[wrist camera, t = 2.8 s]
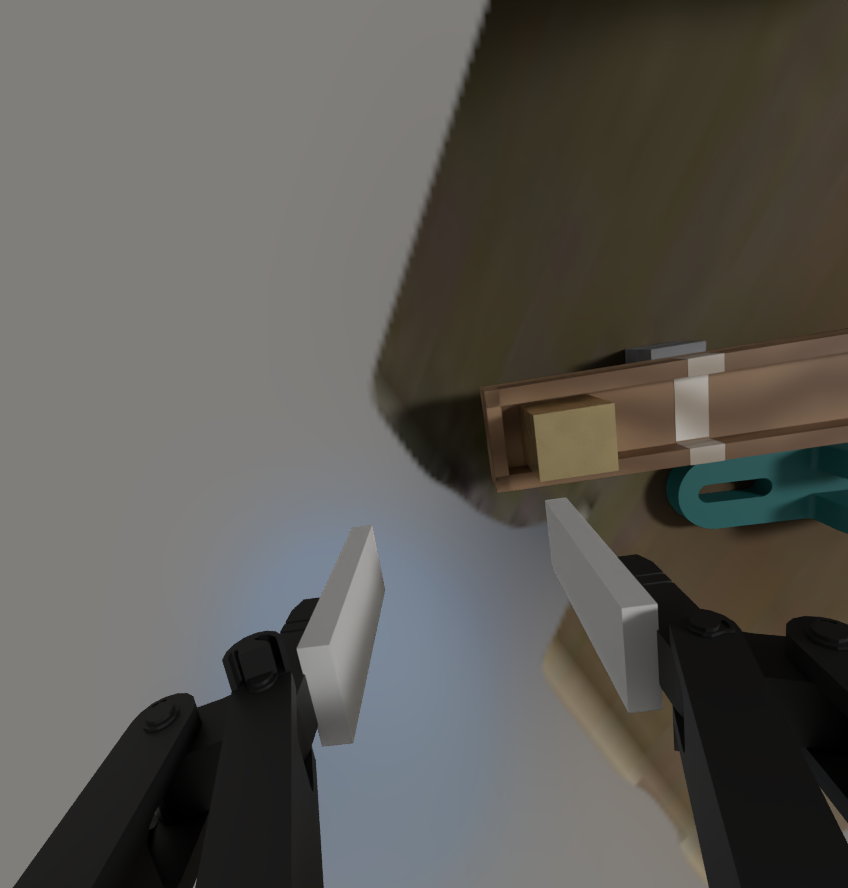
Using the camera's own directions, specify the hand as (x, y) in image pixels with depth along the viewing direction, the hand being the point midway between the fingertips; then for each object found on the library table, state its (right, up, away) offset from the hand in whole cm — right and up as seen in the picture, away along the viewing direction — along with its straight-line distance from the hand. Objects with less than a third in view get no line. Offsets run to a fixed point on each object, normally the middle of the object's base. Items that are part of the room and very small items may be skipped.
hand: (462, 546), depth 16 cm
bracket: (+30, +1, +23) cm, 38 cm away
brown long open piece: (+18, +8, +21) cm, 29 cm away
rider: (+8, +5, +16) cm, 19 cm away
